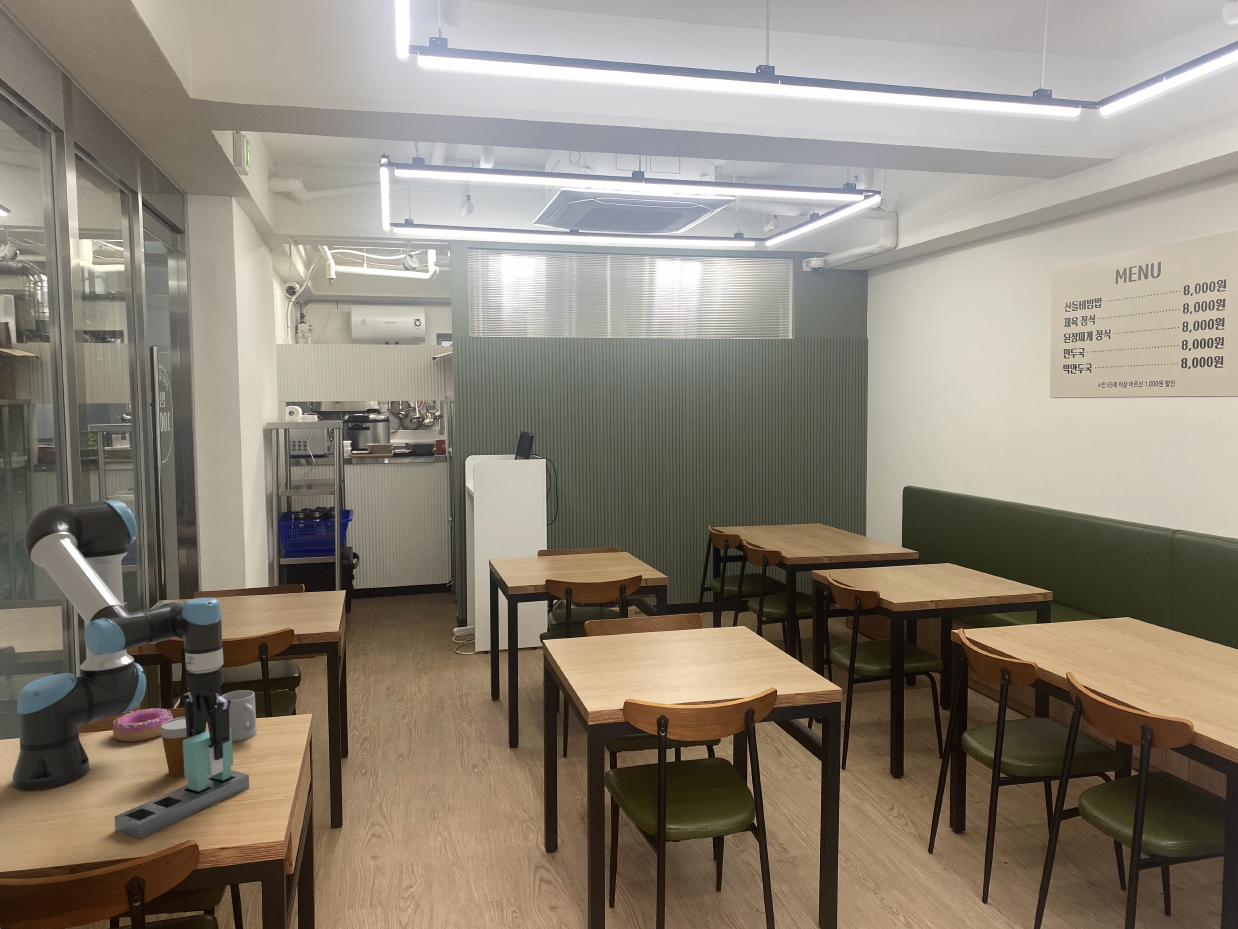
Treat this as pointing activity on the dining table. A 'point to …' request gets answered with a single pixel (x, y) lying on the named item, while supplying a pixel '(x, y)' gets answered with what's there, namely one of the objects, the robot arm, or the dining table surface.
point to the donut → (140, 724)
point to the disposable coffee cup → (174, 744)
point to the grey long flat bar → (178, 805)
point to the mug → (241, 714)
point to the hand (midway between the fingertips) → (209, 770)
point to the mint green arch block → (204, 760)
